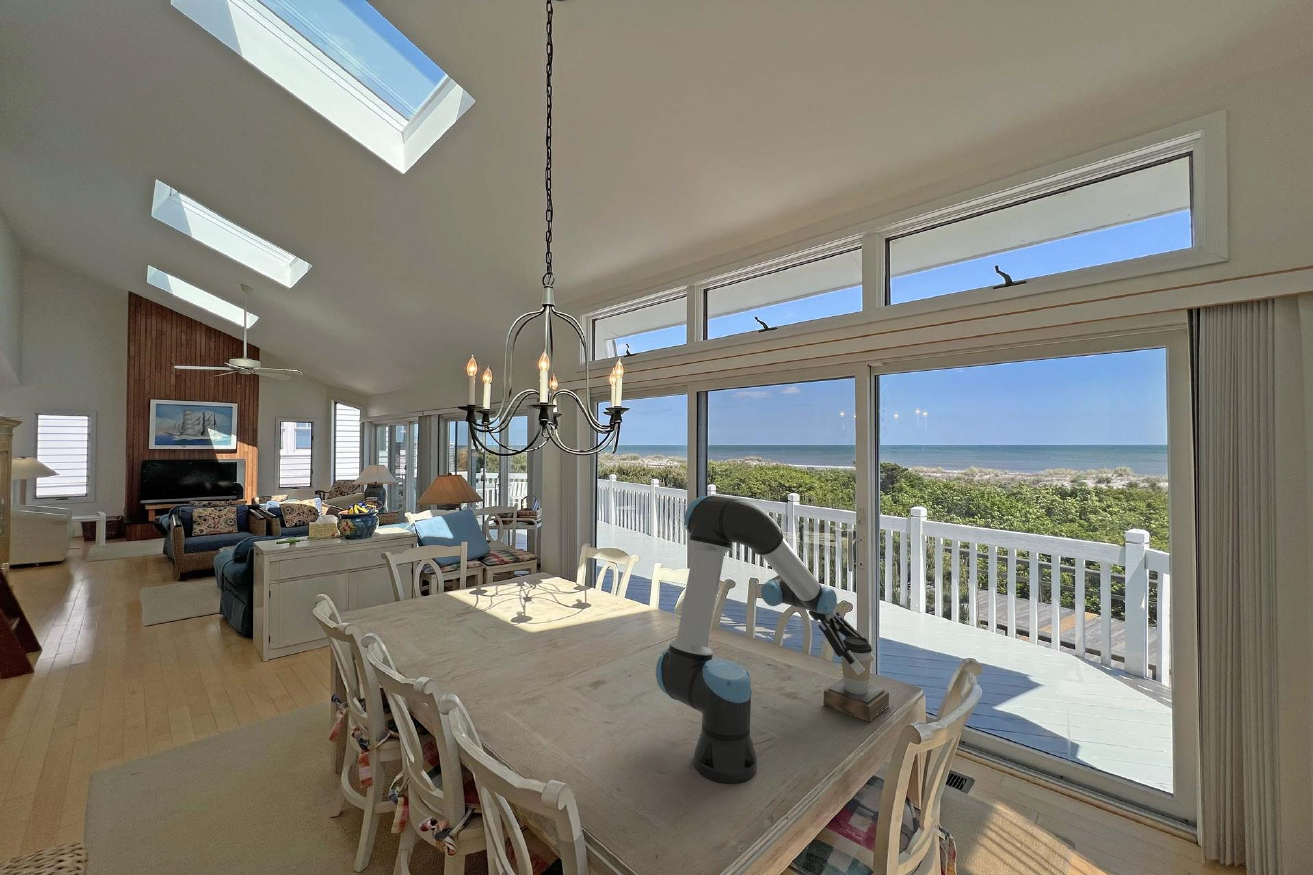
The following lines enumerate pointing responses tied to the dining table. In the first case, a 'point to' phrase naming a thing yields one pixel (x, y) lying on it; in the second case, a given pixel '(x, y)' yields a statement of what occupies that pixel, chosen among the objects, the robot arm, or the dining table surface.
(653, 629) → the dining table surface
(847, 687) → the coffee cup
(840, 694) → the walnut block
